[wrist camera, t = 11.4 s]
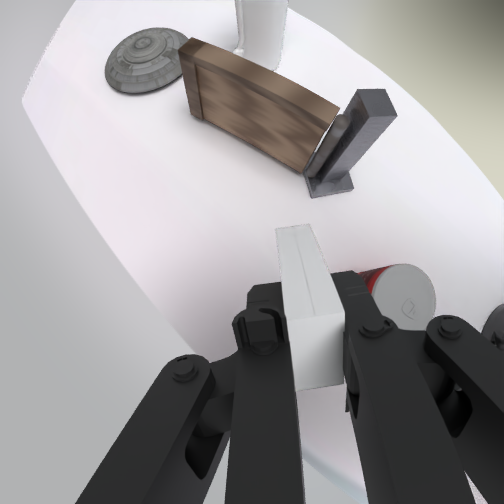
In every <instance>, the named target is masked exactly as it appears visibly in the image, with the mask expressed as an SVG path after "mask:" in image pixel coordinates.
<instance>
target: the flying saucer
mask: <svg viewBox="0 0 504 504" xmlns="http://www.w3.org/2000/svg"><path fill="white" fill-rule="evenodd" d="M188 40H189V39H188V38H187V37H186V36H185V35H183V34H182V33H180V32H178V31H176V30H173V29H168V28H149V29H145V30H141V31H139V32H136V33H134V34H132V35H130V36H128V37H127V38H125V39H124V40H123V41H121V42H120V43H119V44H118V45H117V46H116V47H115V48H114V50H113V51H112V52H111V54H110V56H109V58H108V60H107V62H106V66H105V77H106V80H107V82H108V83H109V84H110V85H111V86H112V87H113V88H115V89H117V90H119V91H122V92H128V93H140V92H146V91H151V90H154V89H157V88H160V87H162V86H164V85H166V84H168V83H170V82H171V81H173V80H174V79H176V78H177V77H178V76H180V75H181V74H182V69H181V65H180V60H179V55H178V49H179V48H180V47H181V46H183V45H184V44H185V43H186V42H187V41H188Z"/></svg>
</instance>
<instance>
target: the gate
mask: <svg viewBox="0 0 504 504" xmlns="http://www.w3.org/2000/svg"><path fill="white" fill-rule="evenodd" d="M178 55H179V60H180V65H181V69H182V74H183V79H184V84H185V89H186V93H187V98H188V103H189V107H190V112H191V115H193V116H195V117H197V118H199V119H201V120H203V119H205V120H207V121H209V122H211V123H213V124H215V125H217V126H219V127H221V128H222V129H224V130H226V131H228V132H230V133H232V134H234V135H235V136H237V137H239V138H241V139H243V140H244V141H246V142H248V143H250V144H252V145H253V146H255V147H257V148H259V149H260V150H262V151H264V152H266V153H267V154H269V155H271V156H273V157H274V158H276V159H278V160H279V161H281V162H283V163H284V164H286V165H288V166H289V167H291V168H293V169H294V170H296V171H298V172H299V173H302V172H303V170H304V169H305V167H306V165H307V164H308V162H309V160H310V158H311V156H312V155H313V153H314V151H315V149H316V147H317V145H318V144H319V142H320V140H321V138H322V136H323V134H324V132H325V131H327V129H328V128H329V126H330V124H331V123H332V121H333V120H334V118H335V117H336V118H335V120H334V121H333V123H332V125H331V127H330V129H329V130H328V132H327V134H326V136H325V137H324V139H323V141H322V143H321V145H320V146H319V148H318V150H317V152H316V154H315V155H314V157H313V159H312V161H311V163H310V164H309V166H308V168H307V170H306V174H307V176H308V177H315V176H316V174H317V173H318V171H319V170H320V168H321V167H322V165H323V163H324V162H325V160H326V159H327V157H328V156H329V154H330V153H331V151H332V150H333V148H334V147H335V145H336V144H337V142H338V141H339V139H340V138H341V136H342V134H343V133H344V131H345V130H346V128H347V127H348V125H349V123H350V121H349V119H348V117H346V116H345V115H342V114H339V115H337V113H338V111H339V109H340V108H339V107H338V106H336V105H334V104H333V103H331V102H329V101H327V100H326V99H324V98H322V97H321V96H319V95H317V94H315V93H313V92H312V91H310V90H308V89H306V88H304V87H302V86H301V85H299V84H297V83H295V82H293V81H291V80H289V79H287V78H285V77H283V76H281V75H279V74H277V73H275V72H273V71H271V70H269V69H267V68H265V67H263V66H260V65H258V64H256V63H254V62H252V61H250V60H247V59H245V58H243V57H240V56H238V55H236V54H233V53H231V52H229V51H226V50H224V49H221V48H219V47H216V46H214V45H211V44H209V43H206V42H203V41H201V40H198V39H195V38H192V37H191V38H190V39H189V40H188V41H187V42H186V43H185V44H184V45H183V46H181V47H180V48H179V49H178ZM336 115H337V116H336Z"/></svg>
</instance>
